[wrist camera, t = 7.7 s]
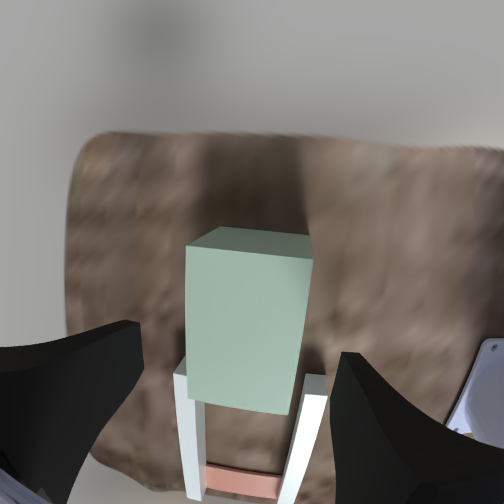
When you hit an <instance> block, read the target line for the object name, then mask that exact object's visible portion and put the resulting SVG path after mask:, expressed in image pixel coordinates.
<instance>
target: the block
mask: <svg viewBox="0 0 504 504" xmlns="http://www.w3.org/2000/svg"><path fill="white" fill-rule="evenodd" d="M312 265H313V255H312V248H311V241H310V235H301V234H292V233H282V232H273V231H263V230H253V229H242V228H232V227H222V226H220V227H218V228H216V229H215V230H213V231H211V232H209V233H207V234H206V235H204V236H202V237H200V238H199V239H197V240H195V241H193V242H192V243H190V244H188V245H186V275H185V330H186V371H187V394H188V399H192V400H197V401H202V402H206V403H211V404H217V405H222V406H227V407H233V408H239V409H245V410H251V411H258V412H265V413H273V414H281V415H288V413H289V408H290V402H291V397H292V392H293V387H294V381H295V376H296V370H297V365H298V359H299V353H300V347H301V341H302V335H303V328H304V322H305V315H306V309H307V302H308V295H309V288H310V280H311V273H312Z"/></svg>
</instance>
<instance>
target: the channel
mask: <svg viewBox="0 0 504 504" xmlns="http://www.w3.org/2000/svg"><path fill="white" fill-rule="evenodd" d="M173 376H174V390H175V402H176V413H177V423H178V432H179V441H180V449H181V457H182V465H183V472H184V479H185V486H186V492H187V498H190V499H193V500H197V501H202V498H203V496H204V493H205V490H206V487H208V488H212V489H217V490H222V491H227V492H233V493H238V494H244V495H251V496H258V497H266V498H274V499H276V504H293V503H294V501H295V498H296V495H297V493H298V490H299V487H300V484H301V481H302V479H303V476H304V473H305V470H306V467H307V464H308V461H309V458H310V455H311V452H312V448H313V445H314V442H315V439H316V435H317V432H318V429H319V425H320V422H321V418H322V415H323V411H324V408H325V404H326V400H327V396H328V395H327V381H326V375H318V374H307V373H306V374H305V379H304V384H303V389H302V394H301V399H300V404H299V408H298V413H297V418H296V422H295V427H294V431H293V435H292V439H291V444H290V448H289V452H288V456H287V460H286V464H285V468H284V472H283V475H273V474H265V473H258V472H251V471H244V470H238V469H233V468H227V467H222V466H217V465H212V464H207V463H206V441H205V402H202V401H197V400H192V399H188V394H187V371H186V356H185V357H184V358H183V360H182V361H181V362H180V364H179V365H178V367H177V368H176V370H175V371H174V373H173Z"/></svg>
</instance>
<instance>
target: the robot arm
mask: <svg viewBox="0 0 504 504" xmlns="http://www.w3.org/2000/svg"><path fill="white" fill-rule="evenodd" d="M493 345H494V347H493ZM492 347H493V348H492ZM143 370H144V361H143V352H142V342H141V331H140V323H139V322H134V321H130V320H122V321H118V322H114V323H111V324H107V325H104V326H101V327H98V328H95V329H92V330H89V331H86V332H83V333H79V334H76V335H72V336H69V337H65V338H62V339H58V340H54V341H50V342H45V343H39V344H33V345H25V346H14V347H0V504H67V501H68V498H69V495H70V492H71V490H72V487H73V484H74V482H75V480H76V477H77V475H78V473H79V471H80V469H81V467H82V465H83V463H84V461H85V459H86V457H87V455H88V453H89V451H90V449H91V447H92V446H93V444H94V442H95V440H96V438H97V437H98V435H99V433H100V432H101V430H102V429H103V428H104V426H105V425H106V423H107V422H108V421H109V420H110V418H111V417H112V416H113V414H114V413H115V412H116V411H117V409H118V408H119V407H120V405H121V404H122V403H123V402H124V400H125V399H126V398H127V396H128V395H129V394H130V392H131V391H132V390H133V388H134V387H135V385H136V383H137V381H138V380H139V378H140V376H141V374H142V372H143ZM330 427H331V436H332V444H333V452H334V461H335V470H336V500H335V504H504V338H489V339H486V340H485V341H484V342H483V343H482V345H481V347H480V350H479V353H478V355H477V358H476V360H475V363H474V365H473V368H472V370H471V373H470V375H469V377H468V380H467V382H466V384H465V386H464V389H463V391H462V393H461V395H460V397H459V399H458V401H457V404H456V406H455V408H454V410H453V412H452V414H451V415H450V417H449V419H448V421H447V423H446V425H445V426H444V425H442V424H441V423H439V422H437V421H435V420H434V419H432V418H431V417H429V416H428V415H426V414H425V413H423V412H422V411H420V410H419V409H418V408H416V407H415V406H414V405H412V404H411V403H410V402H408V401H407V400H406V399H405V398H404V397H403V396H402V395H400V394H399V393H398V392H397V391H396V390H395V389H394V388H393V387H392V386H391V385H390V384H389V383H388V382H386V381H385V379H384V378H383V377H382V376H381V375H380V374H379V373H378V372H377V371H376V370H375V369H374V368H373V367H372V366H371V365H370V364H369V363H368V362H367V360H366V359H365V358H364V357H363V356H362V355H361V354H360V353H354V352H341V357H340V361H339V365H338V369H337V373H336V377H335V381H334V385H333V389H332V393H331V396H330ZM469 432H472V433H473V435H474V437H475V439H476V440H474V439H471V438H469V437H467V436H464V435H462V434H463V433H469Z"/></svg>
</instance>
